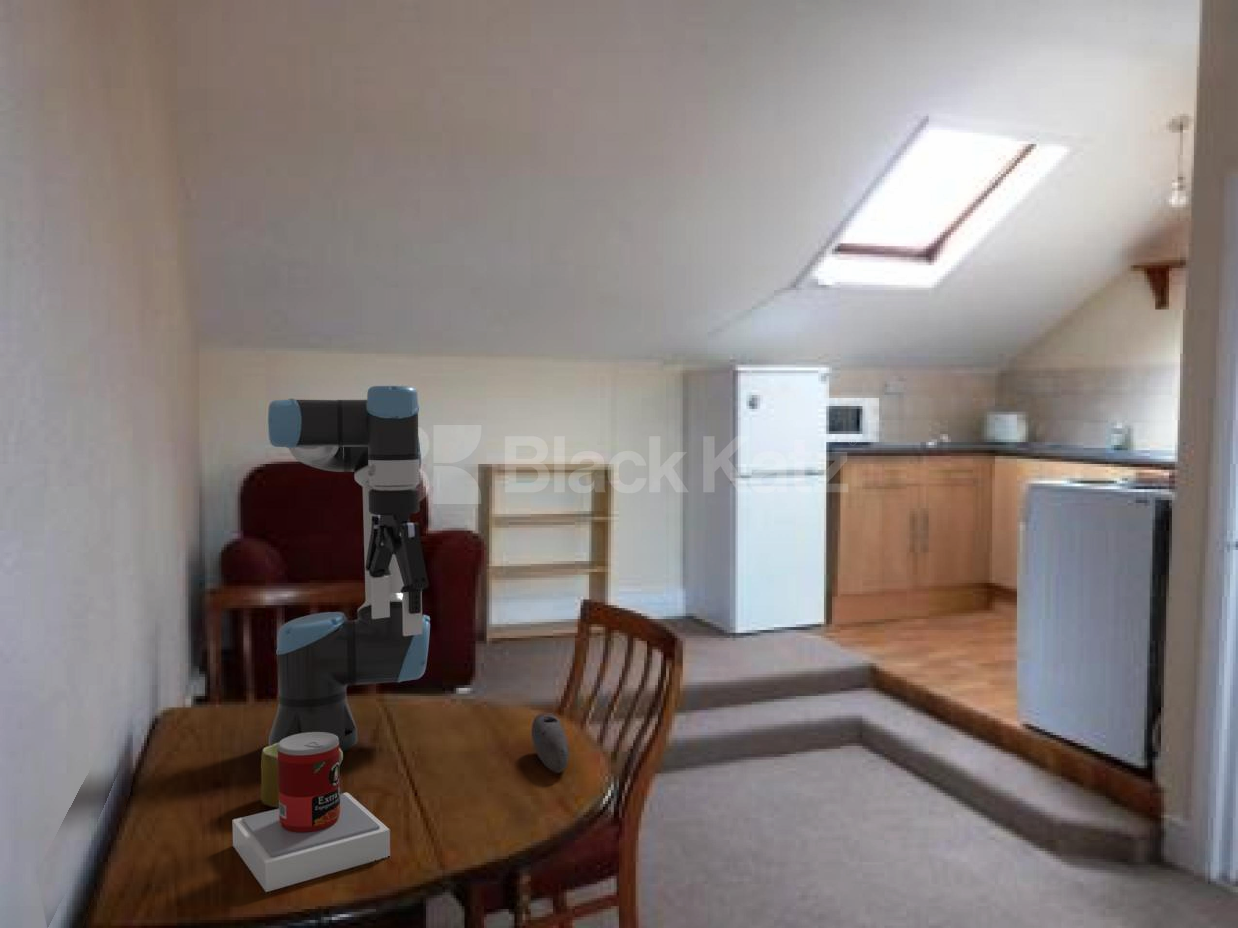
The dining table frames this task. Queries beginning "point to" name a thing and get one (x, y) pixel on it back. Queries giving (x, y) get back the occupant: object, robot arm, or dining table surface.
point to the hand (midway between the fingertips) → (396, 625)
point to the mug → (272, 775)
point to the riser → (309, 845)
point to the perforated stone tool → (550, 742)
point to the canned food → (309, 781)
